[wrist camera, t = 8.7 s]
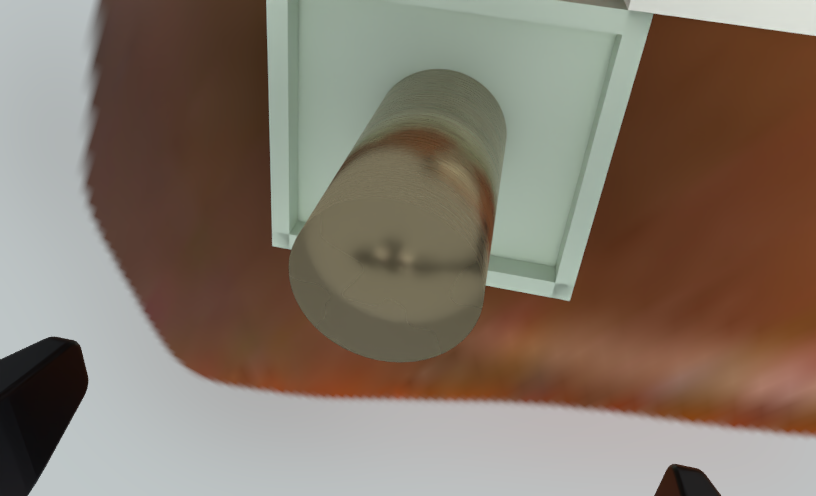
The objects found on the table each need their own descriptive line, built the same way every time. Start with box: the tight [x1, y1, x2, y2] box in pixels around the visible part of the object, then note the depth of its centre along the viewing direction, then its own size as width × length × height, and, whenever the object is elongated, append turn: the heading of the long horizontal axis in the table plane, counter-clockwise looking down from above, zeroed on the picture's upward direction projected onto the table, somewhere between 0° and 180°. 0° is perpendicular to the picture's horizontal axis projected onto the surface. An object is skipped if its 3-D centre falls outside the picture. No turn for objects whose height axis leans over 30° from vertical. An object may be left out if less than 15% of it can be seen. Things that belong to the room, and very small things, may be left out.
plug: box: [289, 69, 507, 362], centre depth 16 cm, size 4×4×8 cm
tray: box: [266, 0, 653, 301], centre depth 20 cm, size 10×9×2 cm
